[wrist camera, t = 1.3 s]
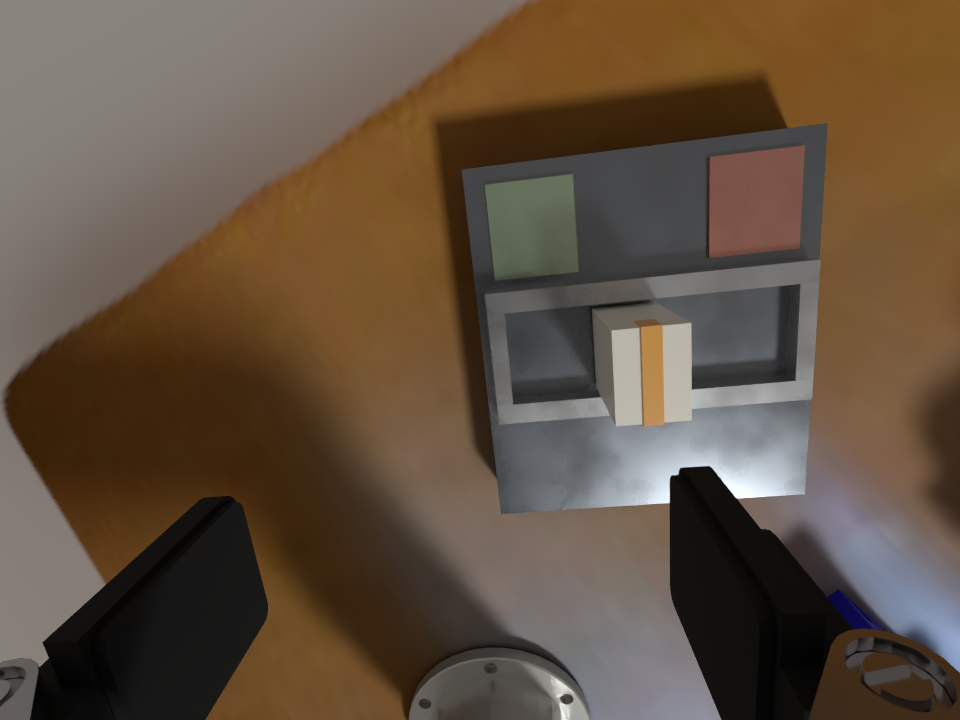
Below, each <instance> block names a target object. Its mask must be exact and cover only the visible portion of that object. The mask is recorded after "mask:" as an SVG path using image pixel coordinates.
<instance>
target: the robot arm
mask: <svg viewBox="0 0 960 720" xmlns="http://www.w3.org/2000/svg"><path fill="white" fill-rule="evenodd" d="M670 590H671V596H672V600H673V604H674V607H675V609H676V612H677V614H678V616H679V619H680V621H681V624H682V626H683V628H684V631H685V633H686V636H687V638H688V640H689V643H690V645H691V648H692V650H693V652H694V655H695V657H696V660H697V662H698V664H699V667H700V669H701V672H702V674H703V676H704V679H705V681H706V684H707V686H708V688H709V691H710V693H711V696H712V698H713V700H714V703H715V705H716V708H717V710H718V712H719V715H720V717H721V720H960V673H959V672H958V671H957V670H956V669H955V668H954V667H953V666H952V665H950V664H949V663H948V662H947V661H946V660H945V659H944V658H942V657H941V656H939V655H938V654H936V653H934V652H933V651H931V650H930V649H928V648H927V647H925V646H923V645H921V644H919V643H917V642H914V641H912V640H910V639H908V638H905V637H903V636H900V635H896V634H893V633H889V632H886V631H882V630H873V629H856V630H854V629H853V628H852V627H851V626H850V625H849V623H848V622H847V621H846V620H845V619H844V617H843V616H842V615H841V614H840V612H839V611H838V610H837V609H836V608H835V606H834V605H833V604H832V603H831V602H830V600H829V599H828V598H827V597H826V596H825V594H824V593H823V592H822V591H821V590H820V588H819V587H818V586H817V585H816V583H815V582H814V581H813V580H812V579H811V577H810V576H809V575H808V574H807V573H806V571H805V570H804V569H803V568H802V567H801V565H800V564H799V563H798V562H797V561H796V559H795V558H794V557H793V556H792V554H791V553H790V552H789V551H788V550H787V548H786V547H785V546H784V545H783V544H782V542H781V541H780V540H779V539H778V538H777V536H776V535H775V534H774V533H772V532H771V531H770V530H767V529H760V527H759V526H758V525H757V524H756V522H755V521H754V520H753V519H752V517H751V516H750V515H749V514H748V512H747V511H746V510H745V509H744V507H743V506H742V505H741V504H740V502H739V501H738V500H737V499H736V497H735V496H734V495H733V494H732V492H731V491H730V490H729V489H728V487H727V486H726V485H725V484H724V482H723V481H722V480H721V478H720V477H719V476H718V475H717V473H716V472H715V471H714V470H713V468H711V467H710V466H699V467H683V468H680V469H679V473H678V475H671V477H670ZM267 613H268V603H267V598H266V595H265V591H264V587H263V583H262V579H261V575H260V571H259V567H258V563H257V560H256V556H255V552H254V548H253V544H252V540H251V536H250V532H249V529H248V525H247V521H246V517H245V513H244V509H243V507H242V505H241V504H240V503H239V502H236V501H235V500H234V498H233V497H231V496H222V497H207V498H202V499H201V500H199V501H198V502H197V503H196V504H195V505H194V506H192V507H191V508H190V509H189V510H188V511H187V512H186V513H185V514H184V515H183V516H181V517H180V518H179V519H178V520H177V521H176V522H175V523H174V524H173V525H172V526H170V527H169V528H168V529H167V530H166V531H165V532H164V533H163V534H162V535H161V536H159V537H158V538H157V539H156V540H155V541H154V542H153V543H152V544H151V545H149V546H148V547H147V548H146V549H145V550H144V551H143V552H142V553H141V554H140V555H138V556H137V557H136V558H135V559H134V560H133V561H132V562H131V563H130V564H129V565H127V566H126V567H125V568H124V569H123V570H122V571H121V572H120V573H119V574H117V575H116V576H115V577H114V578H113V579H112V580H111V581H110V582H109V583H108V584H106V585H105V586H104V587H103V588H102V589H101V590H100V591H99V592H98V593H97V594H95V595H94V596H93V597H92V598H91V599H90V600H89V601H88V602H87V603H85V604H84V605H83V606H82V607H81V608H80V609H79V610H78V611H77V612H76V613H74V614H73V616H71V617H70V618H69V619H68V620H67V621H66V622H65V623H63V624H62V626H60V627H59V628H58V629H57V630H56V631H55V632H53V633H52V634H51V635H50V636H49V637H48V638H47V639H46V640H45V641H44V642H43V645H44V647H45V649H46V652H47V654H48V657H49V659H48V660H47V661H46V662H45V663H44V664H43V665H42V666H40V667H39V666H38V664H37V663H36V662H35V661H33V660H32V659H24V658H18V659H13V660H8V661H4V662H1V663H0V720H205V719H206V717H207V716H208V714H209V713H210V711H211V709H212V708H213V706H214V704H215V703H216V701H217V699H218V698H219V696H220V695H221V693H222V691H223V690H224V688H225V686H226V685H227V683H228V681H229V680H230V678H231V677H232V675H233V673H234V672H235V670H236V668H237V667H238V665H239V663H240V662H241V660H242V659H243V657H244V655H245V654H246V652H247V650H248V649H249V647H250V645H251V644H252V642H253V640H254V639H255V637H256V636H257V634H258V632H259V631H260V629H261V627H262V626H263V624H264V622H265V620H266V617H267ZM409 720H591V716H590V710H589V707H588V704H587V701H586V698H585V696H584V695H583V693H582V691H581V690H580V688H579V686H578V685H577V684H576V683H575V681H574V680H573V679H572V678H571V677H570V676H569V675H568V674H567V673H566V672H564V671H563V670H562V669H560V668H559V667H558V666H556V665H555V664H554V663H552V662H550V661H548V660H546V659H544V658H542V657H540V656H537V655H534V654H531V653H528V652H525V651H522V650H515V649H509V648H481V649H474V650H468V651H465V652H462V653H459V654H456V655H454V656H451V657H449V658H448V659H446V660H444V661H442V662H440V663H439V664H437V665H436V666H435V667H434V668H433V669H431V670H430V671H429V672H428V673H427V674H426V675H425V676H424V678H423V679H422V680H421V682H420V683H419V684H418V686H417V689H416V691H415V693H414V695H413V698H412V703H411V707H410V712H409Z"/></svg>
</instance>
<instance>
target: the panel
mask: <svg viewBox="0 0 960 720" xmlns="http://www.w3.org/2000/svg"><path fill="white" fill-rule="evenodd" d="M827 125H828V123H825V124H817V125H809V126H801V127H793V128H785V129H777V130H770V131H762V132H754V133H746V134H738V135H730V136H722V137H714V138H706V139H699V140H691V141H683V142H675V143H667V144H659V145H651V146H643V147H635V148H628V149H620V150H612V151H604V152H596V153H588V154H580V155H572V156H564V157H556V158H549V159H541V160H533V161H525V162H517V163H509V164H501V165H493V166H485V167H478V168H470V169H462V177H463V186H464V195H465V204H466V212H467V221H468V230H469V238H470V247H471V256H472V264H473V273H474V282H475V290H476V299H477V308H478V317H479V325H480V334H481V343H482V351H483V360H484V369H485V377H486V386H487V395H488V404H489V412H490V421H491V430H492V438H493V447H494V456H495V464H496V473H497V482H498V490H499V499H500V508H501V514H506V513H522V512H537V511H552V510H568V509H583V508H598V507H614V506H629V505H644V504H659V503H670V477H671V475H678V473H679V469H680V468H683V467H699V466H710V467H711V468H713V470H714V471H715V472H716V473H717V475H718V476H719V477H720V478H721V480H722V481H723V482H724V484H725V485H726V486H727V487H728V489H729V490H730V491H731V492H732V494H733V495H734V496H735V497H736V498H751V497H766V496H782V495H797V494H805V483H806V467H807V451H808V434H809V418H810V402H811V399H812V392H813V376H814V360H815V344H816V328H817V311H818V295H819V279H820V263H821V259H819V255H820V239H821V223H822V206H823V190H824V174H825V158H826V141H827ZM652 302H656V303H658V304H660V305H661V306H663V307H665V308H667V309H668V310H670V311H672V312H674V313H675V314H677V315H679V316H680V317H682V318H684V319H686V320H687V321H689V322H691V338H692V420H691V421H678V422H665V423H664V425H655V426H644V425H643V424H640V425H628V426H615V424H614V422H613V420H612V418H611V416H610V414H609V412H608V410H607V408H606V406H605V404H604V402H603V400H602V398H601V396H600V394H599V392H598V390H597V388H596V375H595V357H594V339H593V321H592V308H602V307H612V306H622V305H632V304H642V303H652Z"/></svg>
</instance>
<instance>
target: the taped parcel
mask: <svg viewBox="0 0 960 720" xmlns="http://www.w3.org/2000/svg"><path fill="white" fill-rule="evenodd" d="M592 321H593V339H594V357H595V375H596V388H597V390H598V392H599V394H600V396H601V398H602V400H603V402H604V404H605V406H606V408H607V410H608V412H609V414H610V416H611V418H612V420H613V422H614V424H615V426H628V425H640V424H643V425H644V426H655V425H664V423H665V422H678V421H691V420H692V338H691V322H689V321H687V320H686V319H684V318H682V317H680V316H679V315H677V314H675V313H674V312H672V311H670V310H668V309H667V308H665V307H663V306H661V305H660V304H658V303H656V302H652V303H642V304H632V305H622V306H612V307H602V308H592Z"/></svg>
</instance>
